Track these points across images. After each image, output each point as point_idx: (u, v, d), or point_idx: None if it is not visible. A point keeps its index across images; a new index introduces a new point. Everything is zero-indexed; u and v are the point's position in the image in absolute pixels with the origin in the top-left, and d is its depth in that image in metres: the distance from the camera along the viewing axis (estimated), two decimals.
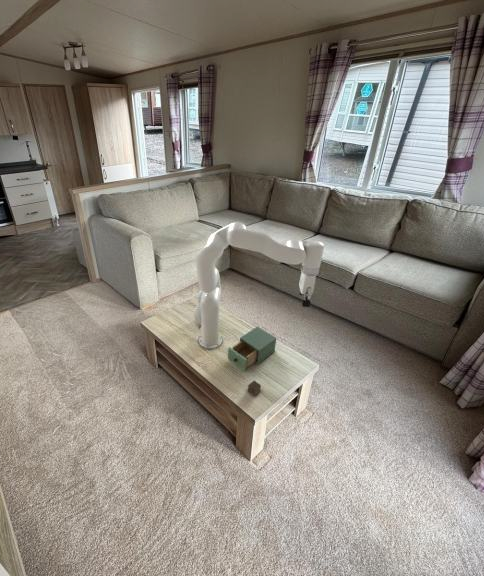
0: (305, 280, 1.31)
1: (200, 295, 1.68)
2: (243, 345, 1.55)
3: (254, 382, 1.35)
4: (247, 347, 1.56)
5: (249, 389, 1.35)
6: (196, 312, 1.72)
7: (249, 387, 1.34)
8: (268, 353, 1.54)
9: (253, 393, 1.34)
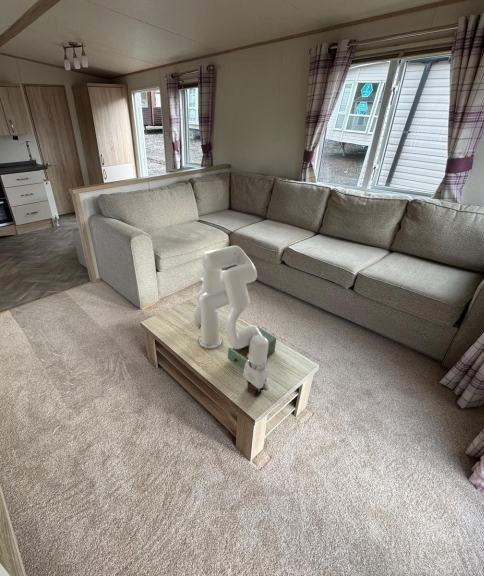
0: (261, 376, 1.24)
1: (200, 295, 1.68)
2: None
3: None
4: (247, 347, 1.56)
5: (249, 389, 1.35)
6: (196, 312, 1.72)
7: (249, 387, 1.34)
8: (268, 353, 1.54)
9: (253, 393, 1.34)
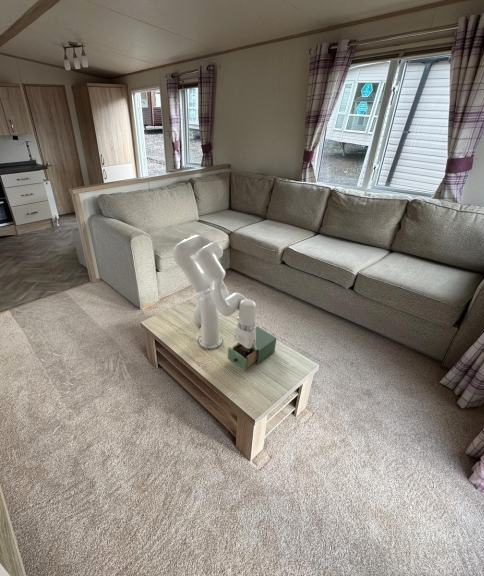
0: (250, 336, 1.38)
1: (200, 295, 1.68)
2: None
3: None
4: None
5: (240, 351, 1.49)
6: (196, 312, 1.72)
7: (240, 349, 1.48)
8: (268, 353, 1.54)
9: (243, 354, 1.47)
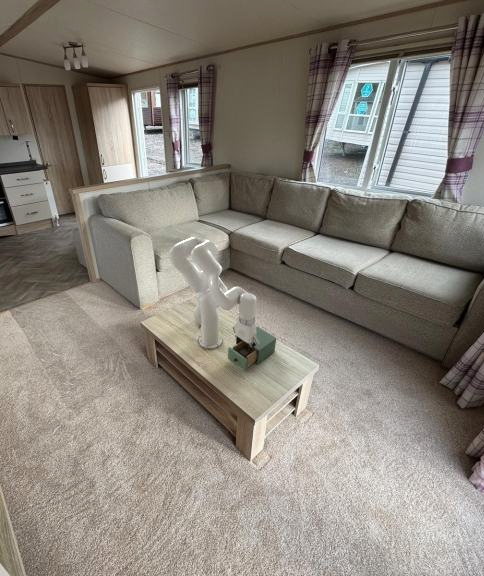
0: (250, 331, 1.36)
1: (200, 295, 1.68)
2: (243, 345, 1.55)
3: (244, 349, 1.51)
4: (247, 347, 1.56)
5: None
6: (196, 312, 1.72)
7: (239, 353, 1.50)
8: (268, 353, 1.54)
9: None
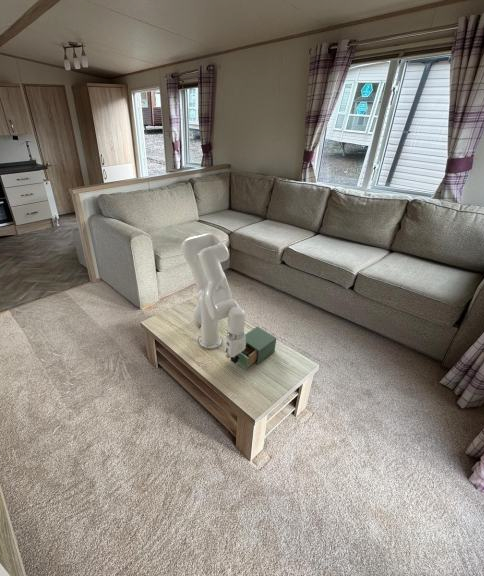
0: None
1: (200, 295, 1.68)
2: None
3: (246, 348, 1.51)
4: (249, 346, 1.57)
5: None
6: (196, 312, 1.72)
7: None
8: (268, 353, 1.54)
9: None
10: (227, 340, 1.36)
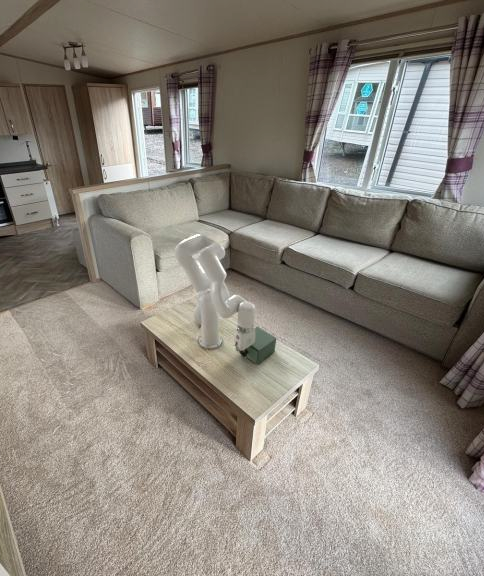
0: (254, 330, 1.43)
1: (200, 295, 1.68)
2: None
3: None
4: None
5: None
6: (196, 312, 1.72)
7: None
8: (268, 353, 1.54)
9: None
10: (237, 334, 1.40)
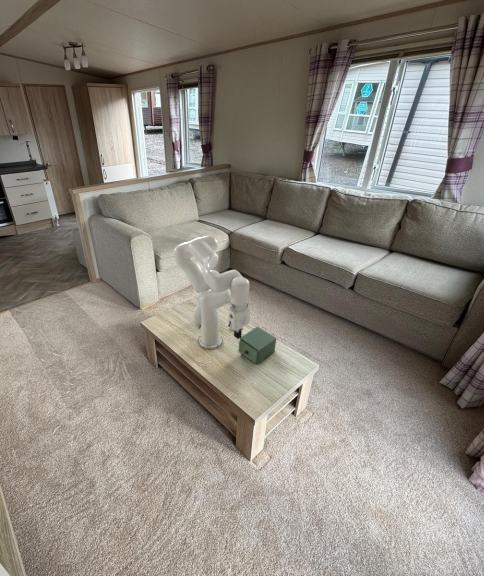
0: None
1: (200, 295, 1.68)
2: None
3: None
4: None
5: None
6: (196, 312, 1.72)
7: None
8: (268, 353, 1.54)
9: None
10: (230, 312, 1.29)
